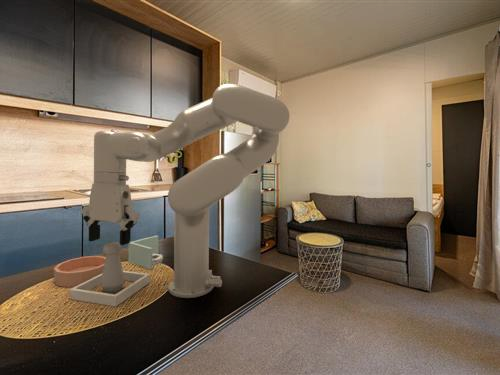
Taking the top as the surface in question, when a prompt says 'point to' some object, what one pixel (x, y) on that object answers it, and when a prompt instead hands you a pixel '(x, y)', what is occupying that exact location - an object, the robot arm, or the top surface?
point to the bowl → (78, 270)
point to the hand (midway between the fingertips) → (109, 242)
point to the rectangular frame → (85, 295)
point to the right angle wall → (145, 252)
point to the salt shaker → (112, 269)
